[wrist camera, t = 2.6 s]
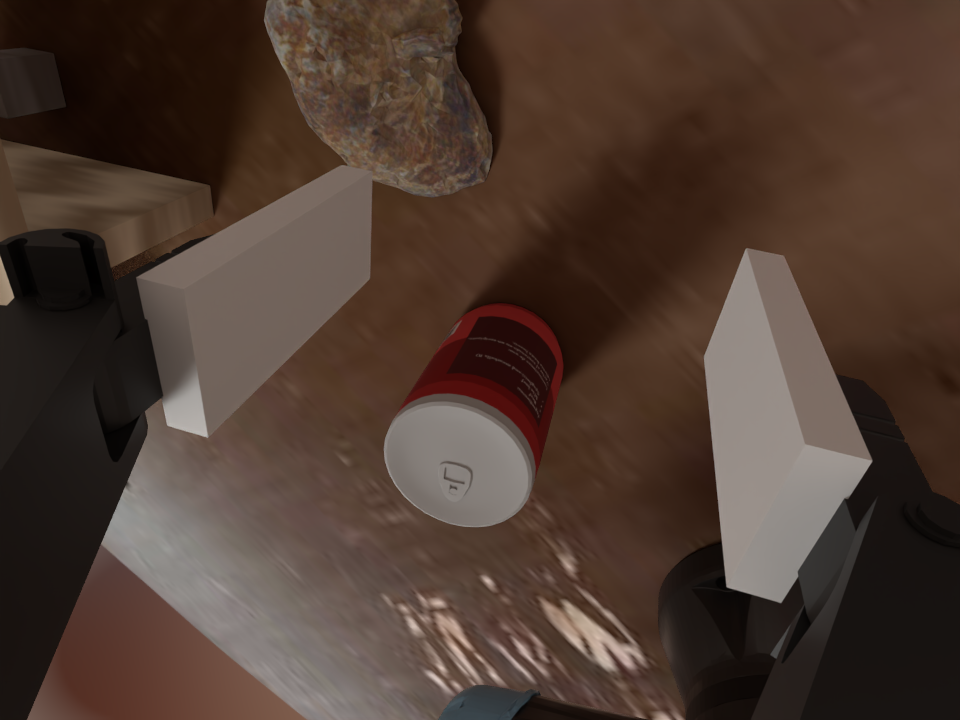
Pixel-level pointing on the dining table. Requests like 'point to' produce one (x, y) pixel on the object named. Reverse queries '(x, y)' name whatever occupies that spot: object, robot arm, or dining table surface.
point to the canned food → (478, 418)
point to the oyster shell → (385, 88)
